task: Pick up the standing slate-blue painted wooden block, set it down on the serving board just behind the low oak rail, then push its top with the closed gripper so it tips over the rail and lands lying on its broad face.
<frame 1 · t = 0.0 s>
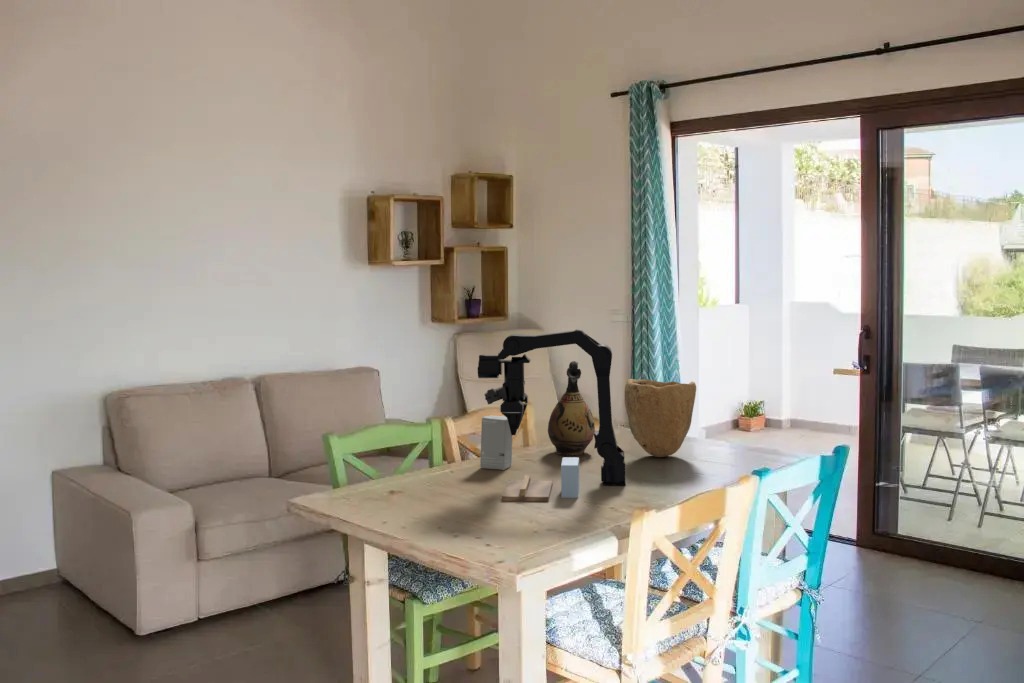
hand: (515, 432, 282), 15 cm above the table, fingers open, 9 cm apart
ceramic jug: (571, 452, 323), on the table
blue block: (570, 493, 270), on the table
brown stone pot: (661, 457, 313), on the table
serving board: (528, 492, 271), on the table
skincare box: (497, 467, 303), on the table
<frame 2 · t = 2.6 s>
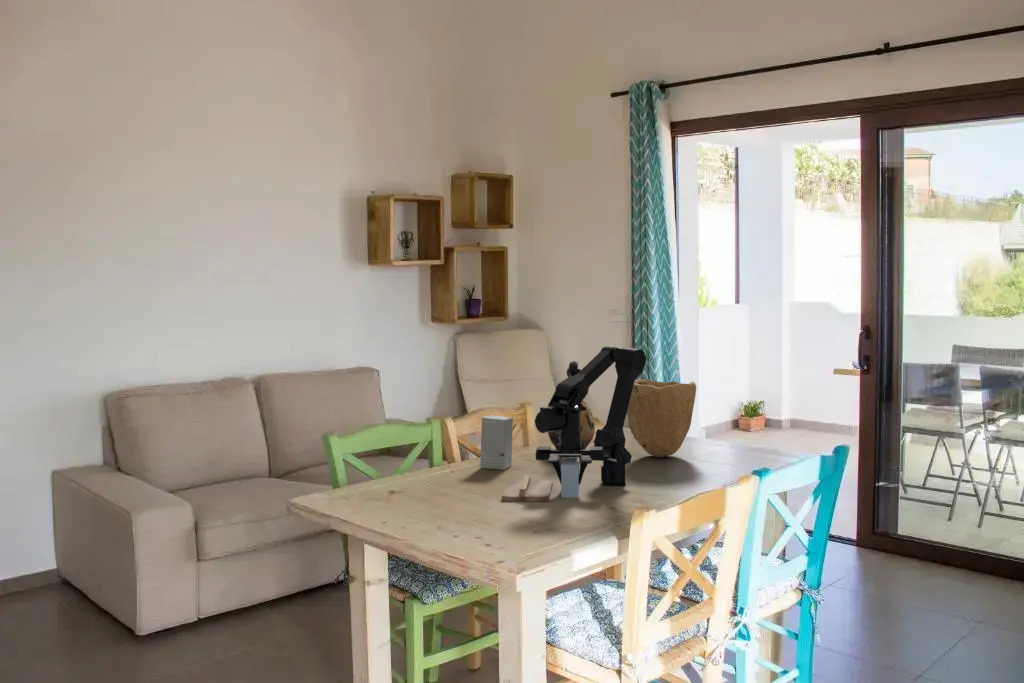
hand: (570, 484, 269), 3 cm above the table, fingers closed on blue block, 4 cm apart
blue block: (570, 493, 270), on the table, touching gripper
everything else where it was.
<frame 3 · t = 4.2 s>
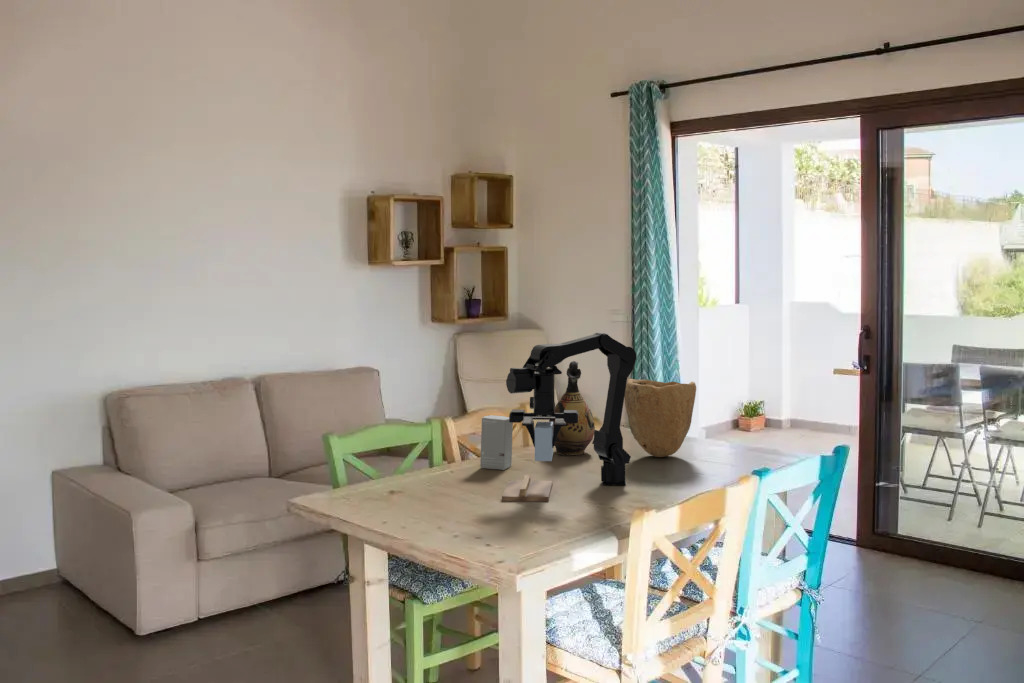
hand: (544, 447, 269), 13 cm above the table, fingers closed on blue block, 4 cm apart
blue block: (544, 457, 269), point 10 cm above the table, touching gripper
everything else where it was.
when the fingers open (4 cm above the table, at t = 6.1 s): blue block stays where it is, resting on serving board.
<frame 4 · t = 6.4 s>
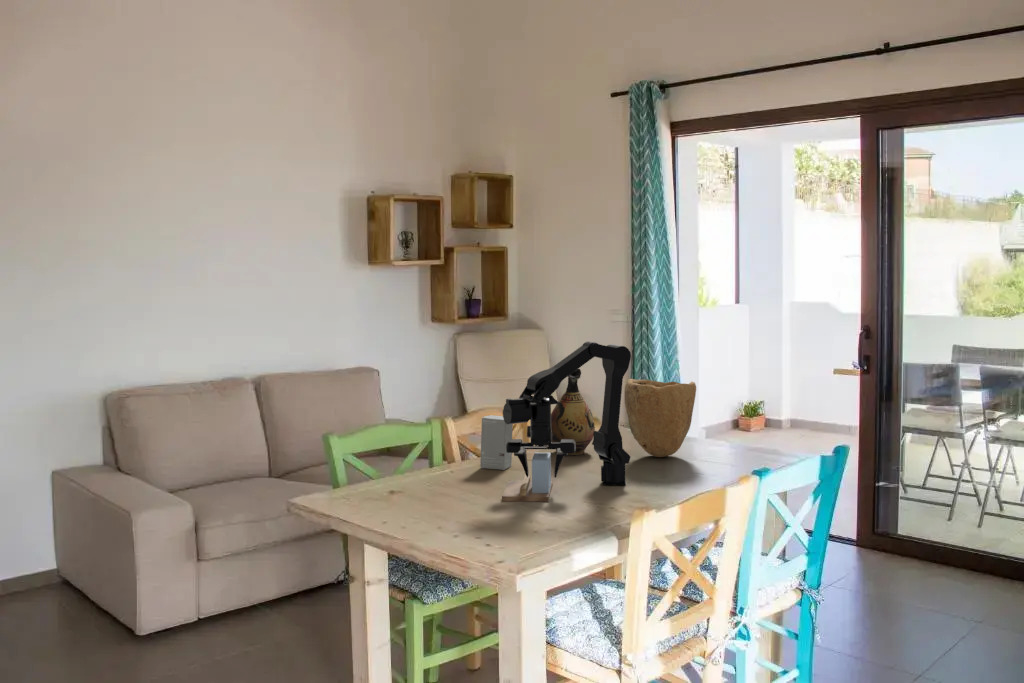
hand: (541, 476, 270), 4 cm above the table, fingers open, 7 cm apart
blue block: (541, 488, 270), point 1 cm above the table, touching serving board
everything else where it was.
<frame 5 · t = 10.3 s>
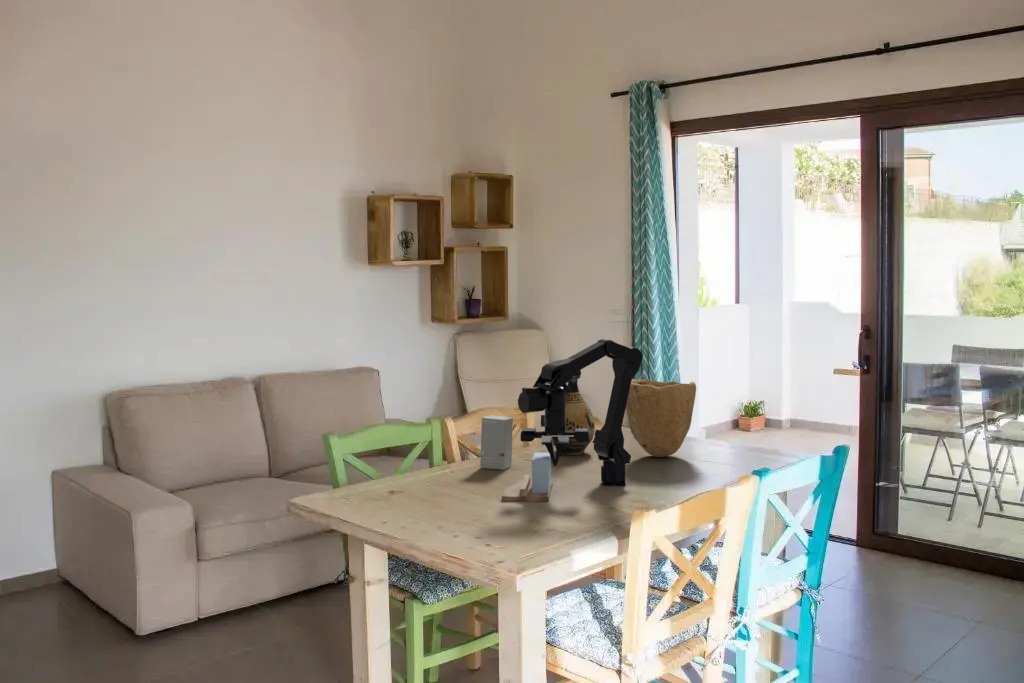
hand: (555, 465, 269), 8 cm above the table, fingers closed
blue block: (541, 488, 270), point 1 cm above the table, touching gripper, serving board
everything else where it was.
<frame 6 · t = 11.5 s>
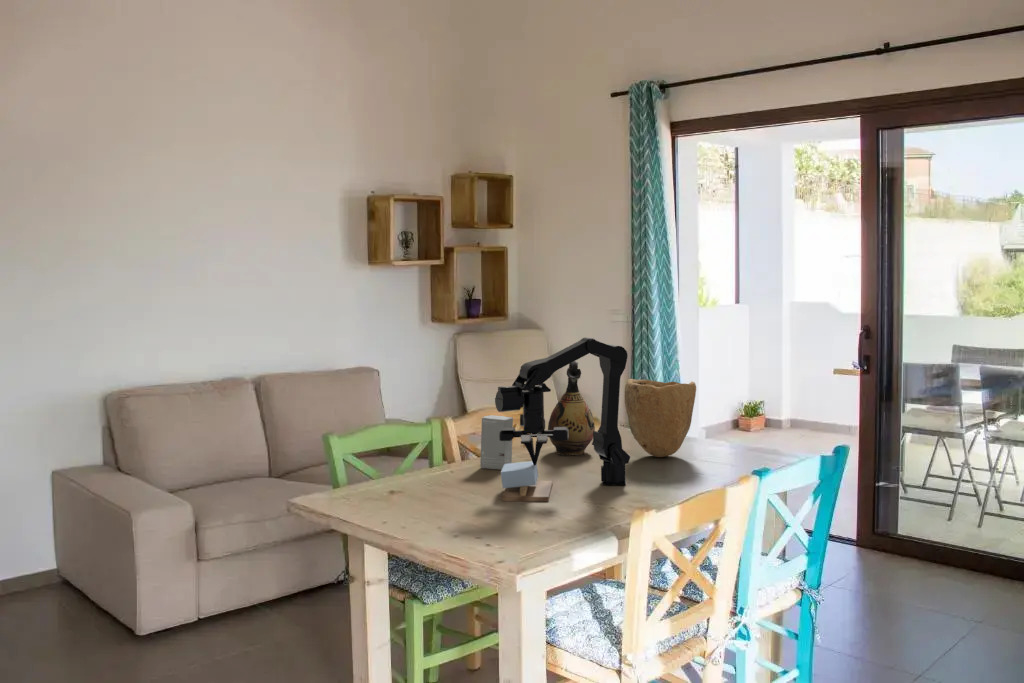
hand: (534, 464, 270), 8 cm above the table, fingers closed, pressing on blue block
blue block: (535, 472, 270), point 6 cm above the table, tilted 96°, touching gripper, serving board
everything else where it was.
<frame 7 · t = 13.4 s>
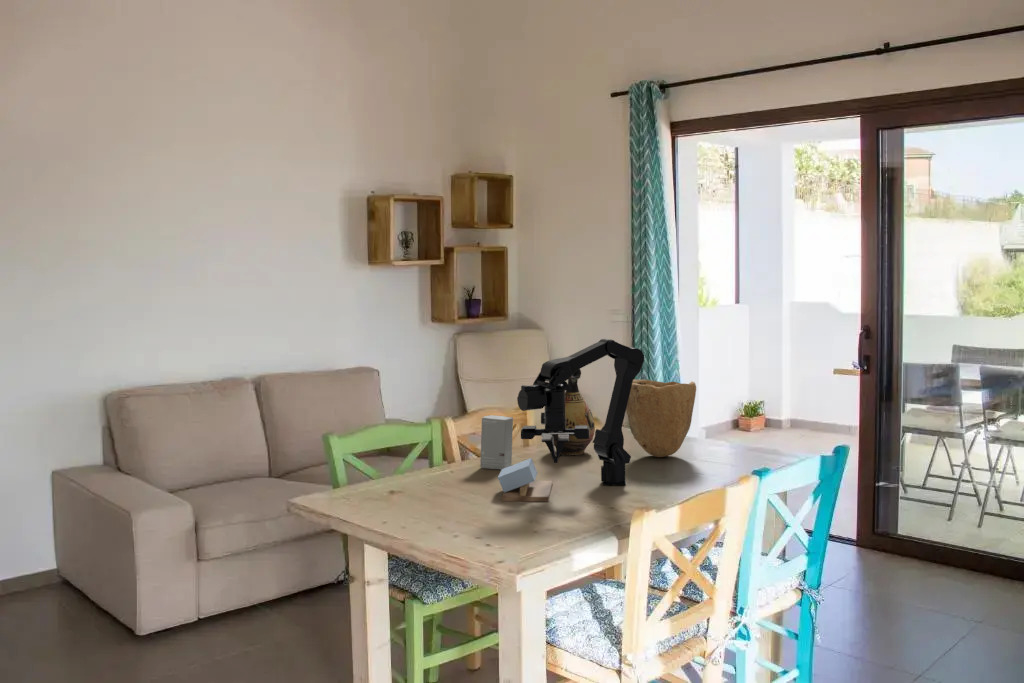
hand: (555, 463, 270), 8 cm above the table, fingers closed
blue block: (532, 469, 270), point 7 cm above the table, tilted 111°, touching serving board
everything else where it was.
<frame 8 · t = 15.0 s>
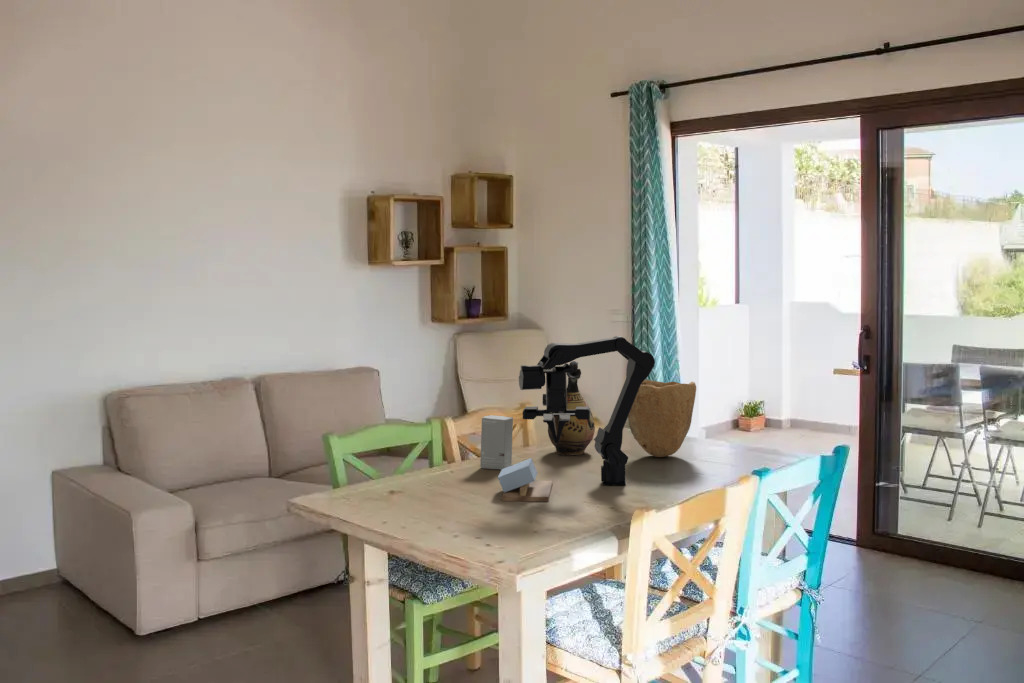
hand: (556, 443, 276), 12 cm above the table, fingers closed
nothing on the table moved.
at the end: blue block tilted 111°; blue block inside the target area (5.2 cm from its centre), point 6.6 cm above the table; the gripper is holding nothing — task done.
